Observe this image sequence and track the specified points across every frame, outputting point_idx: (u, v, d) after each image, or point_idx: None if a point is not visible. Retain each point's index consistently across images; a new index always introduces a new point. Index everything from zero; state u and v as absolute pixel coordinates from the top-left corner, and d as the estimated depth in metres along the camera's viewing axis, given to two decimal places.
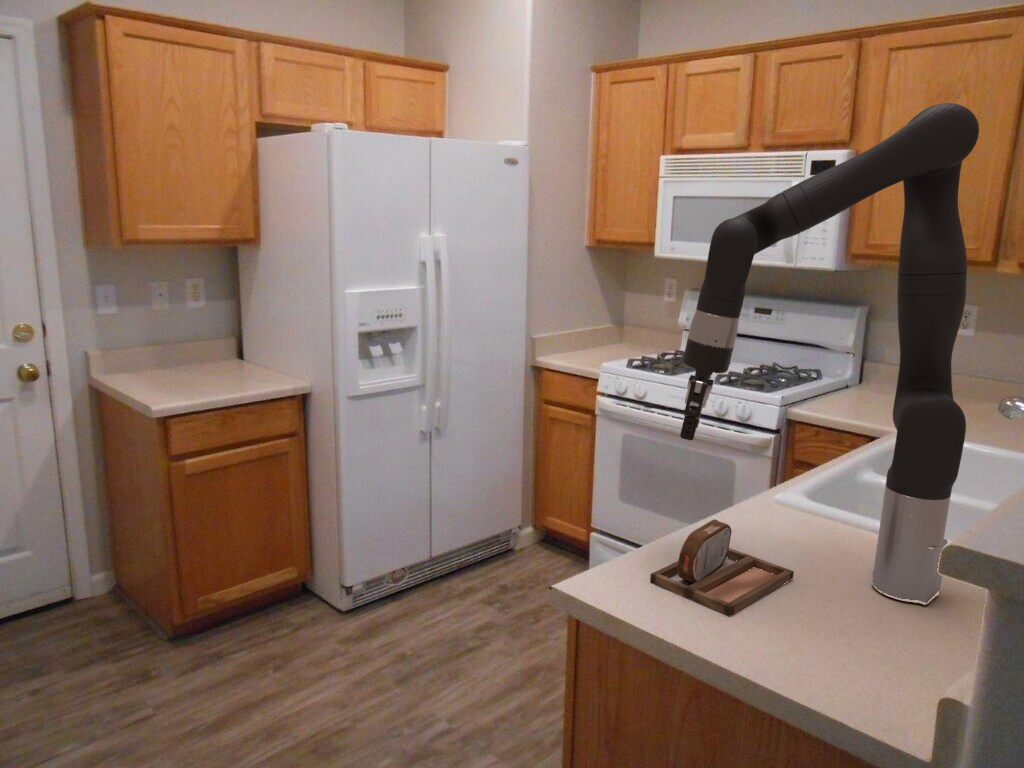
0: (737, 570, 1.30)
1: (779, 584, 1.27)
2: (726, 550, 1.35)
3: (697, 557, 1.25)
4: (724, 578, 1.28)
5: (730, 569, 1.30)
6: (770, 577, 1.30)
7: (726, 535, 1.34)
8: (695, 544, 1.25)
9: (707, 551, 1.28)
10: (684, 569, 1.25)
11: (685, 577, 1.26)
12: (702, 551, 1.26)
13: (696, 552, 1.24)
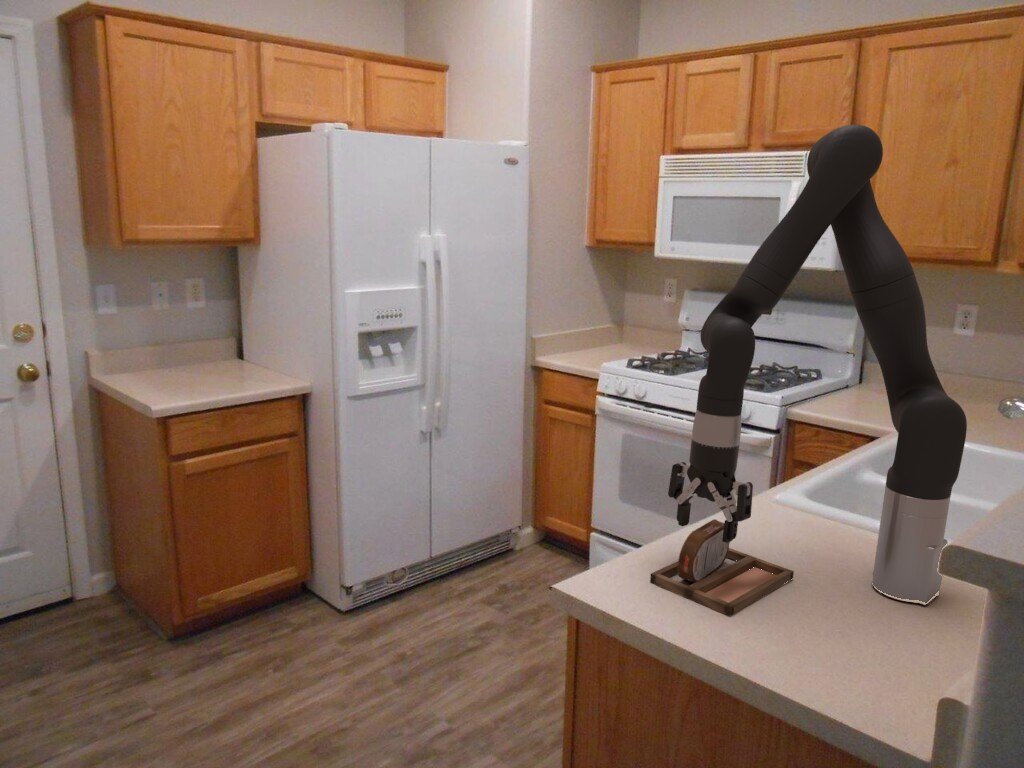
0: (737, 570, 1.30)
1: (779, 584, 1.27)
2: (726, 550, 1.35)
3: (696, 556, 1.25)
4: (724, 578, 1.28)
5: (730, 569, 1.30)
6: (770, 577, 1.30)
7: None
8: (695, 544, 1.25)
9: (707, 551, 1.28)
10: (684, 569, 1.25)
11: (685, 577, 1.26)
12: (702, 551, 1.26)
13: (696, 552, 1.24)
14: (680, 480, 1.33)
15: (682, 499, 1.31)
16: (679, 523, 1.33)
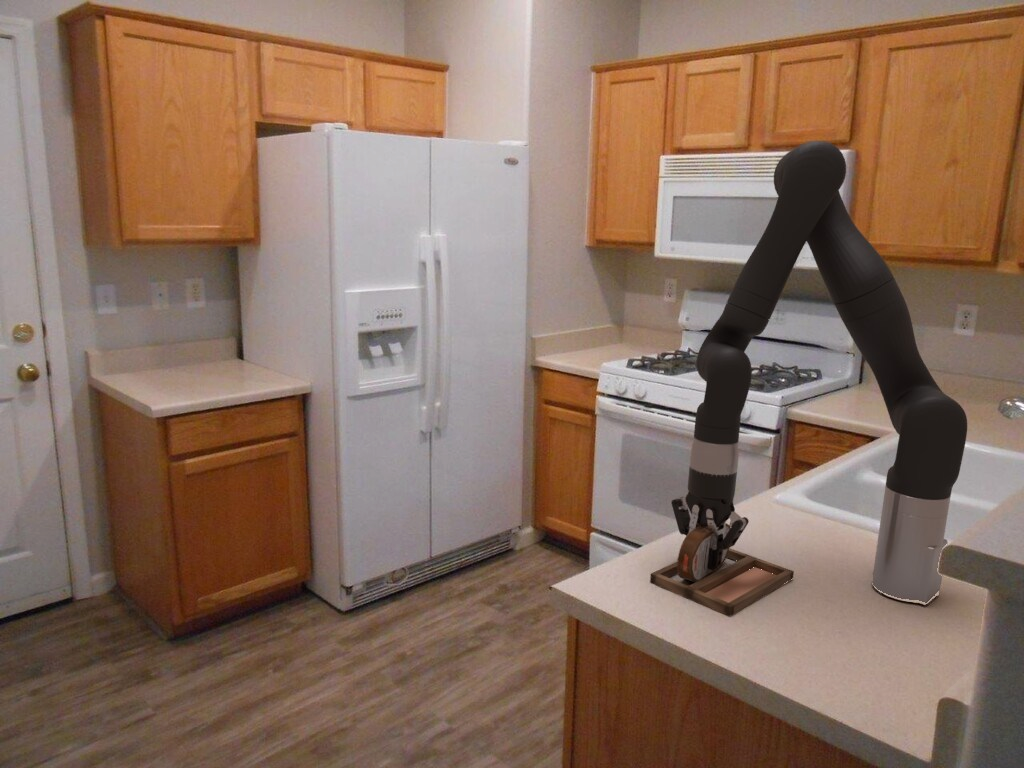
0: (737, 570, 1.30)
1: (779, 584, 1.27)
2: (726, 549, 1.35)
3: (696, 555, 1.25)
4: (724, 578, 1.28)
5: (730, 569, 1.30)
6: (770, 577, 1.30)
7: (726, 534, 1.34)
8: (694, 542, 1.25)
9: (707, 550, 1.28)
10: (684, 568, 1.25)
11: (685, 576, 1.26)
12: (701, 550, 1.26)
13: (695, 551, 1.24)
14: (685, 514, 1.33)
15: None
16: None
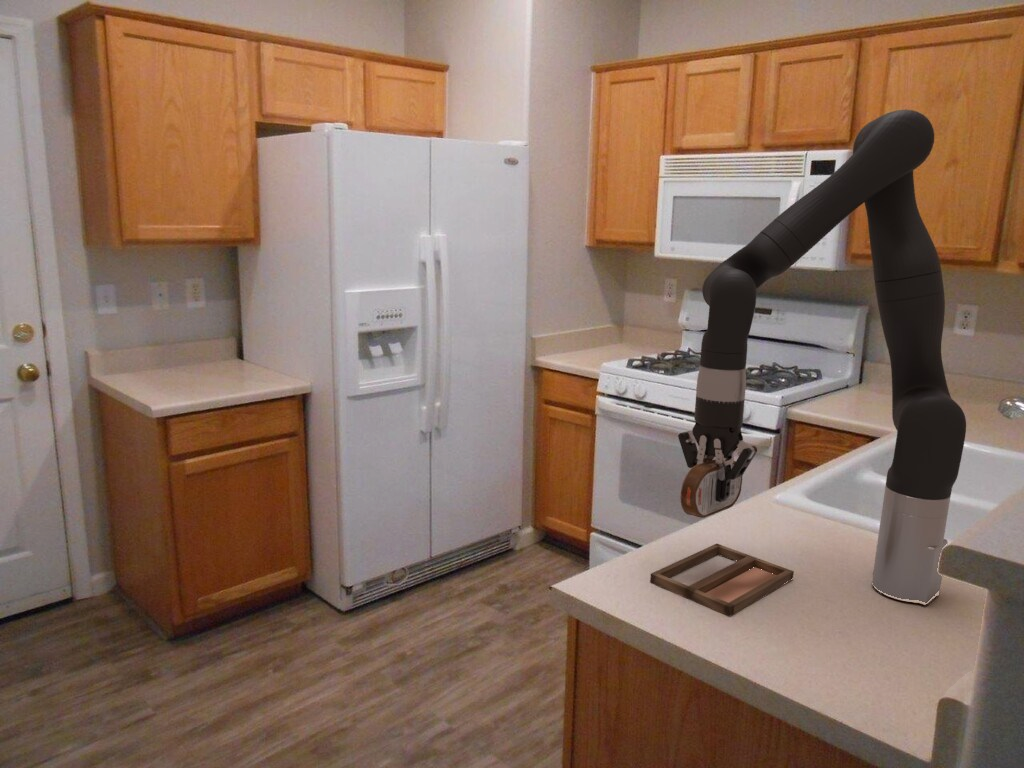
0: (737, 570, 1.30)
1: (779, 584, 1.27)
2: (738, 489, 1.32)
3: (699, 489, 1.23)
4: (724, 578, 1.28)
5: (730, 569, 1.30)
6: (770, 577, 1.30)
7: None
8: (697, 475, 1.23)
9: (713, 486, 1.26)
10: (687, 501, 1.23)
11: (689, 511, 1.24)
12: (706, 484, 1.24)
13: (698, 483, 1.23)
14: (692, 448, 1.30)
15: None
16: None
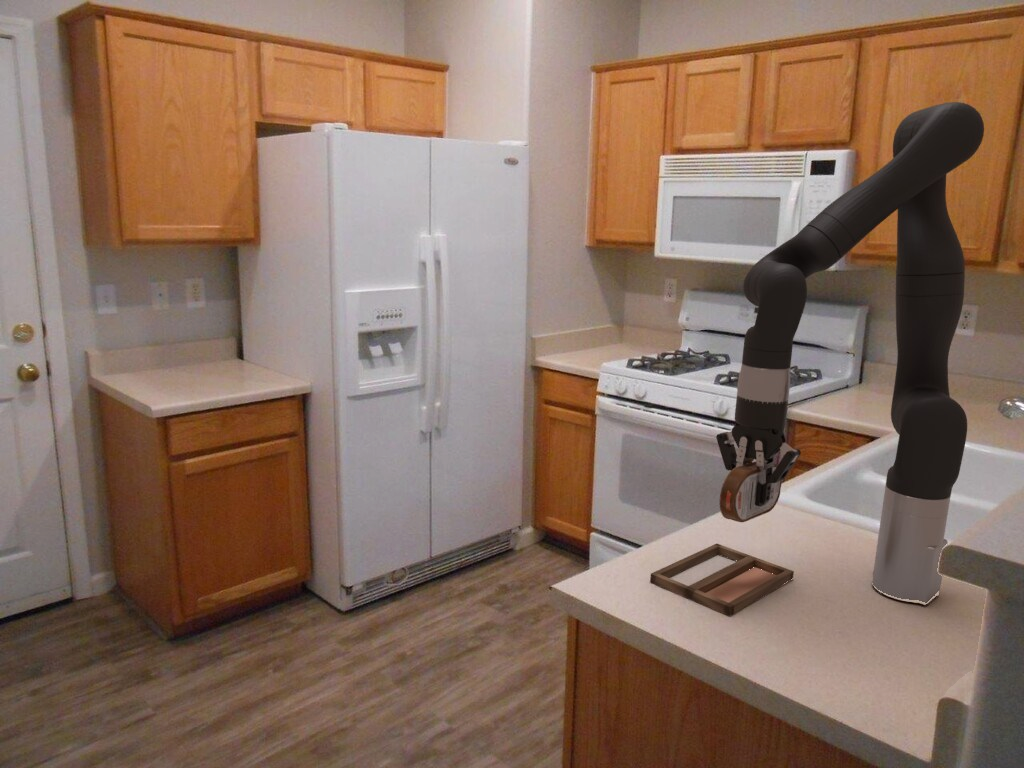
0: (737, 570, 1.30)
1: (779, 584, 1.27)
2: (777, 493, 1.27)
3: (739, 492, 1.18)
4: (724, 578, 1.28)
5: (730, 569, 1.30)
6: (770, 577, 1.30)
7: None
8: (737, 478, 1.18)
9: (753, 489, 1.21)
10: (726, 505, 1.18)
11: (728, 515, 1.19)
12: (746, 487, 1.19)
13: (738, 486, 1.17)
14: (731, 449, 1.25)
15: None
16: None
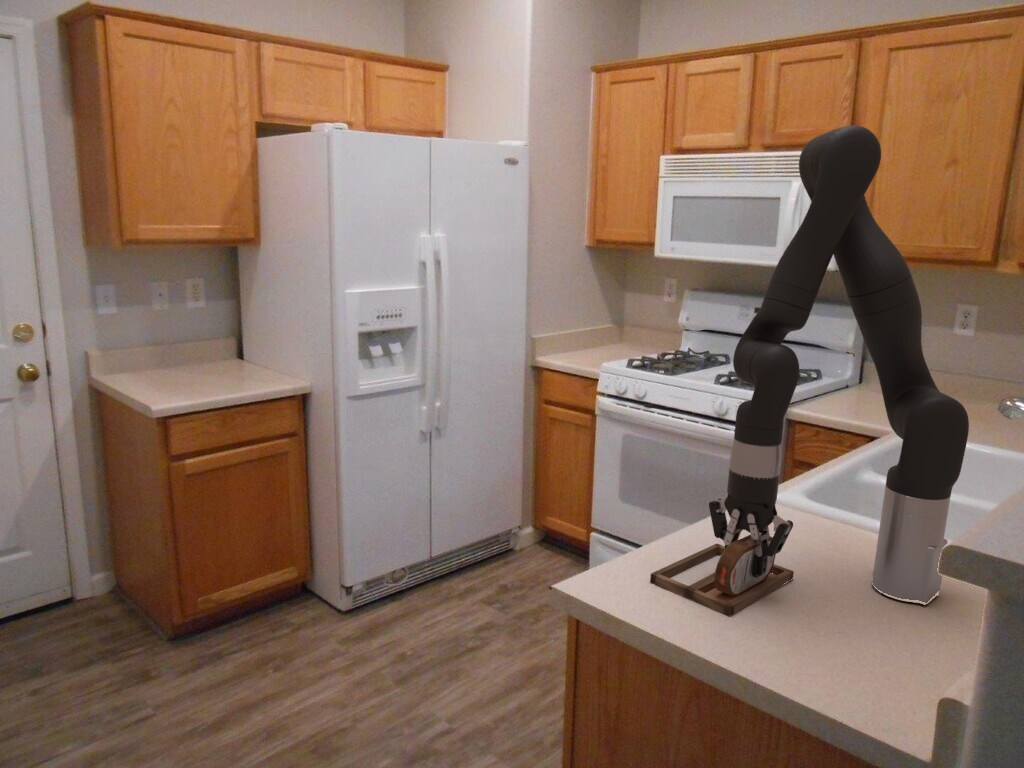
0: None
1: (779, 584, 1.27)
2: (771, 564, 1.29)
3: (735, 569, 1.20)
4: None
5: None
6: (770, 577, 1.30)
7: None
8: (733, 555, 1.20)
9: (748, 564, 1.23)
10: (721, 581, 1.20)
11: (722, 589, 1.22)
12: (741, 564, 1.21)
13: (734, 564, 1.19)
14: (722, 517, 1.28)
15: (730, 540, 1.26)
16: None
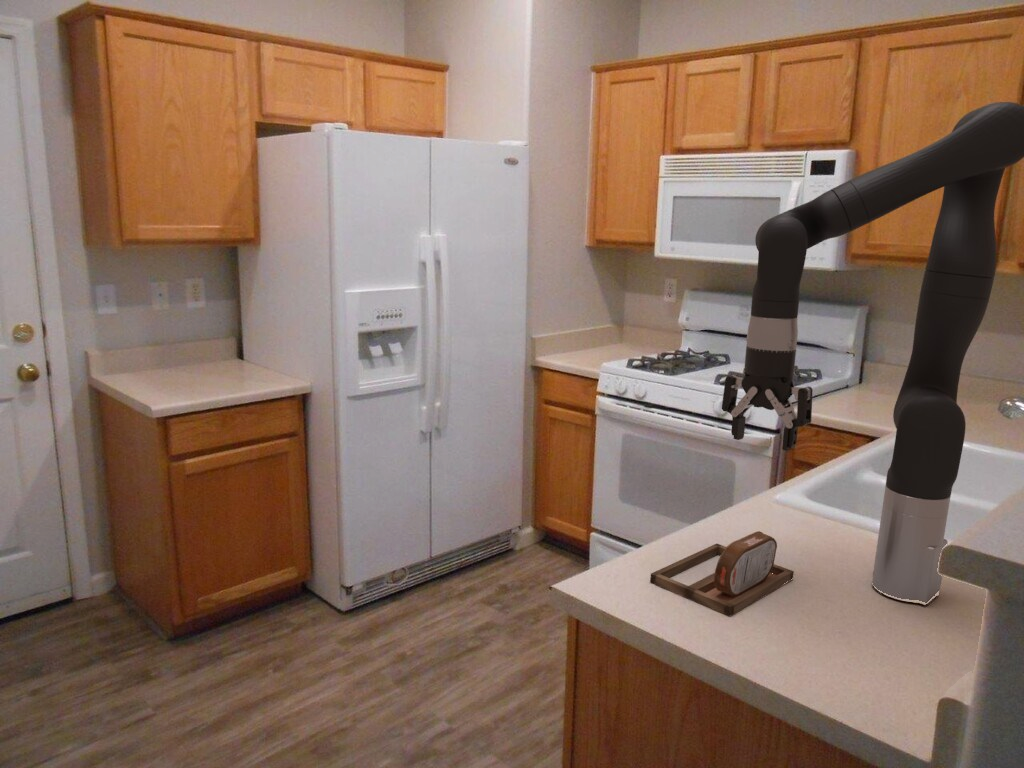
0: None
1: (779, 584, 1.27)
2: (771, 564, 1.29)
3: (734, 569, 1.20)
4: None
5: None
6: (770, 577, 1.30)
7: (771, 548, 1.28)
8: (733, 555, 1.20)
9: (747, 564, 1.23)
10: (721, 581, 1.20)
11: (722, 589, 1.22)
12: (741, 564, 1.21)
13: (733, 564, 1.19)
14: (734, 393, 1.30)
15: (737, 411, 1.29)
16: (734, 437, 1.30)
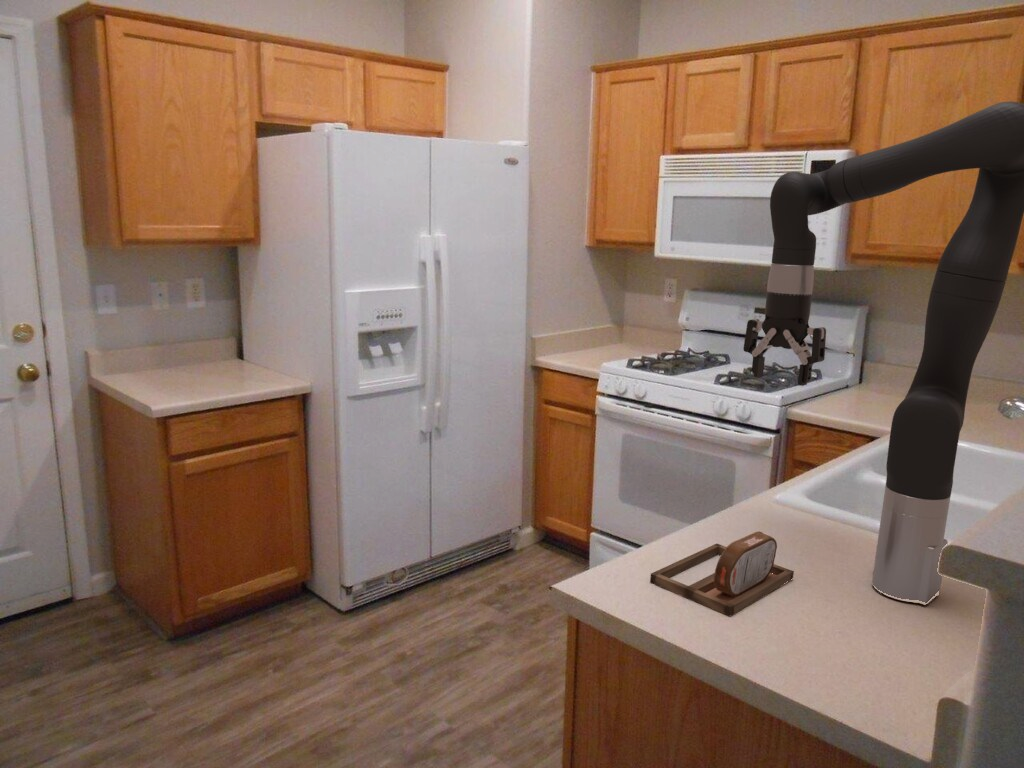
0: None
1: (779, 584, 1.27)
2: (771, 564, 1.29)
3: (734, 569, 1.20)
4: None
5: None
6: (770, 577, 1.30)
7: (771, 548, 1.28)
8: (733, 555, 1.20)
9: (747, 564, 1.23)
10: (721, 581, 1.20)
11: (722, 589, 1.22)
12: (741, 564, 1.21)
13: (733, 564, 1.19)
14: (754, 335, 1.44)
15: (757, 351, 1.42)
16: (754, 375, 1.44)
